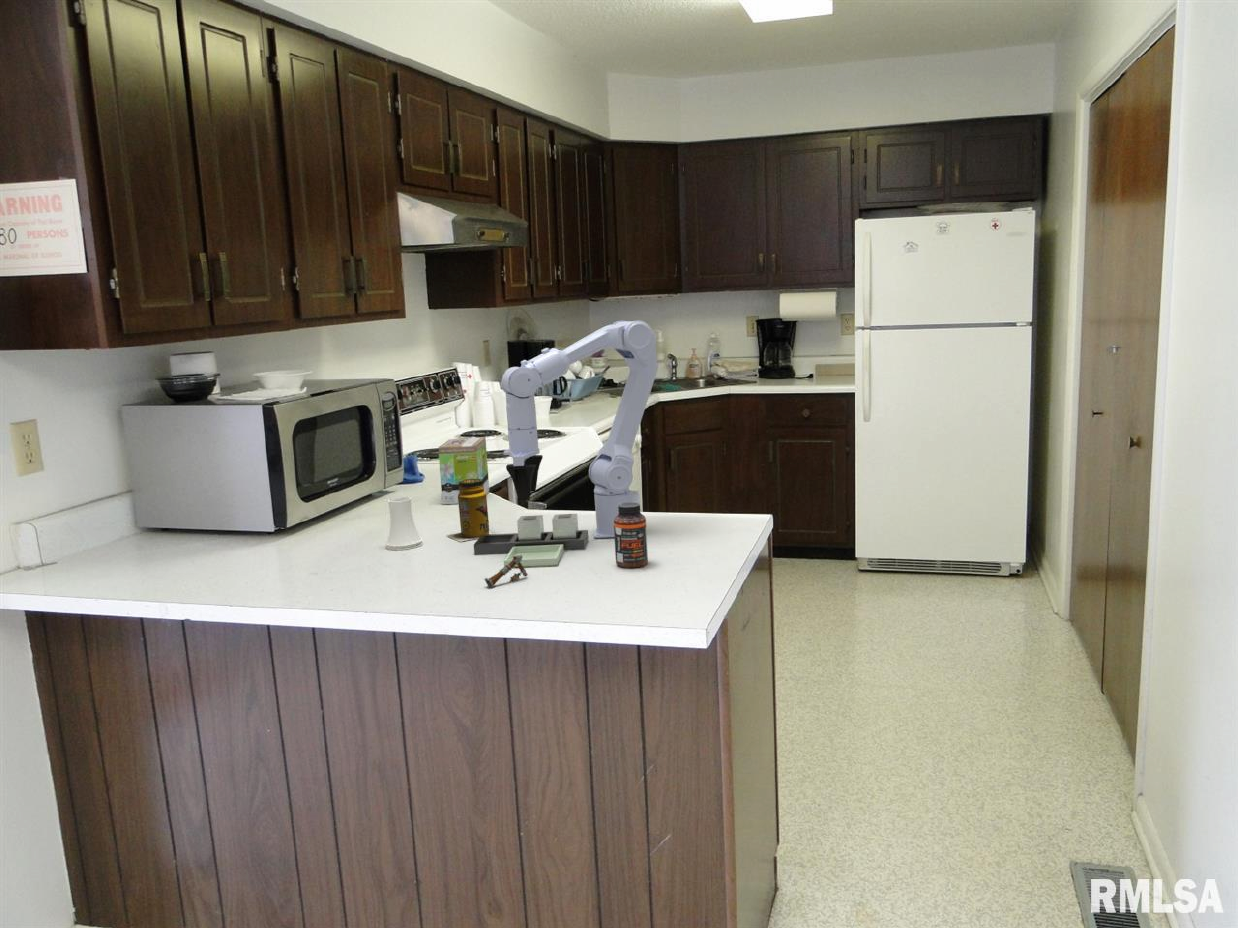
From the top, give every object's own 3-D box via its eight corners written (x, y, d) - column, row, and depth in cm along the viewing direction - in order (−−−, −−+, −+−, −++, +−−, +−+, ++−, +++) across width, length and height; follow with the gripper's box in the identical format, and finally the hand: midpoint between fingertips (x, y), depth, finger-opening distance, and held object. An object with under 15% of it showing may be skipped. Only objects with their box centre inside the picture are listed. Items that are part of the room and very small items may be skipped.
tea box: (482, 503, 245) (476, 444, 243) (441, 505, 246) (436, 446, 243) (490, 491, 260) (485, 435, 258) (452, 493, 261) (447, 437, 258)
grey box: (545, 543, 201) (542, 514, 200) (541, 549, 197) (539, 519, 196) (523, 544, 201) (520, 515, 200) (519, 550, 197) (516, 520, 196)
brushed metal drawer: (579, 542, 201) (577, 512, 200) (576, 548, 196) (574, 517, 195) (557, 543, 201) (554, 513, 200) (554, 549, 197) (552, 518, 195)
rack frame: (588, 539, 202) (588, 529, 202) (584, 549, 194) (584, 539, 194) (482, 544, 204) (481, 534, 203) (474, 554, 196) (473, 544, 196)
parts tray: (563, 551, 194) (563, 544, 193) (557, 566, 184) (556, 558, 184) (513, 554, 194) (512, 546, 194) (504, 568, 185) (503, 560, 184)
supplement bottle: (621, 570, 178) (617, 509, 176) (612, 562, 184) (608, 503, 182) (652, 566, 180) (649, 505, 178) (643, 558, 185) (639, 499, 183)
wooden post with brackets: (533, 572, 178) (522, 552, 176) (499, 599, 174) (488, 579, 172) (527, 570, 179) (517, 551, 177) (494, 597, 175) (483, 577, 173)
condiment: (497, 535, 211) (492, 480, 209) (460, 542, 207) (455, 486, 205) (482, 529, 217) (477, 475, 215) (446, 536, 213) (441, 482, 211)
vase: (430, 542, 208) (425, 496, 206) (404, 551, 202) (399, 504, 200) (404, 539, 212) (399, 494, 211) (378, 548, 206) (373, 501, 204)
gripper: (508, 424, 202) (513, 489, 205) (495, 434, 188) (500, 504, 190) (542, 422, 202) (547, 487, 204) (532, 432, 188) (537, 502, 190)
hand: (527, 495), depth 197 cm, fingers open, 7 cm apart
